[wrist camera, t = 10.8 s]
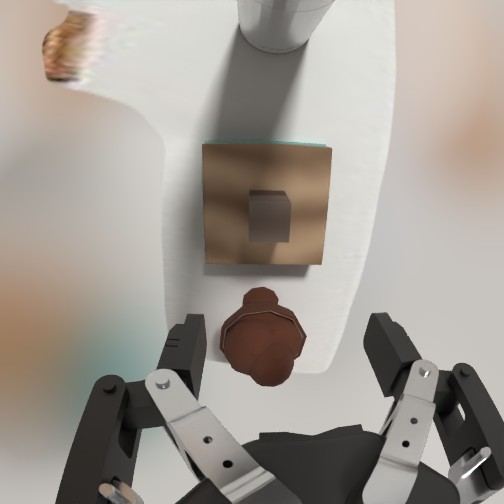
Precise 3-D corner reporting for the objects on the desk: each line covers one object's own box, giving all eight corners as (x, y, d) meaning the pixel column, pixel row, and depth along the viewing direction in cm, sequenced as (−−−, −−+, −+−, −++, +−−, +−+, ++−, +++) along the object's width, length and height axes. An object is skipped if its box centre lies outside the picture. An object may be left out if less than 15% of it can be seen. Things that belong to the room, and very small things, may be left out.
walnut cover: (206, 143, 34) (191, 146, 25) (324, 146, 34) (348, 152, 25) (209, 252, 39) (198, 287, 31) (315, 253, 39) (333, 288, 31)
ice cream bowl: (302, 274, 42) (324, 342, 28) (286, 333, 46) (297, 405, 33) (229, 265, 41) (220, 332, 28) (222, 326, 46) (213, 399, 32)
